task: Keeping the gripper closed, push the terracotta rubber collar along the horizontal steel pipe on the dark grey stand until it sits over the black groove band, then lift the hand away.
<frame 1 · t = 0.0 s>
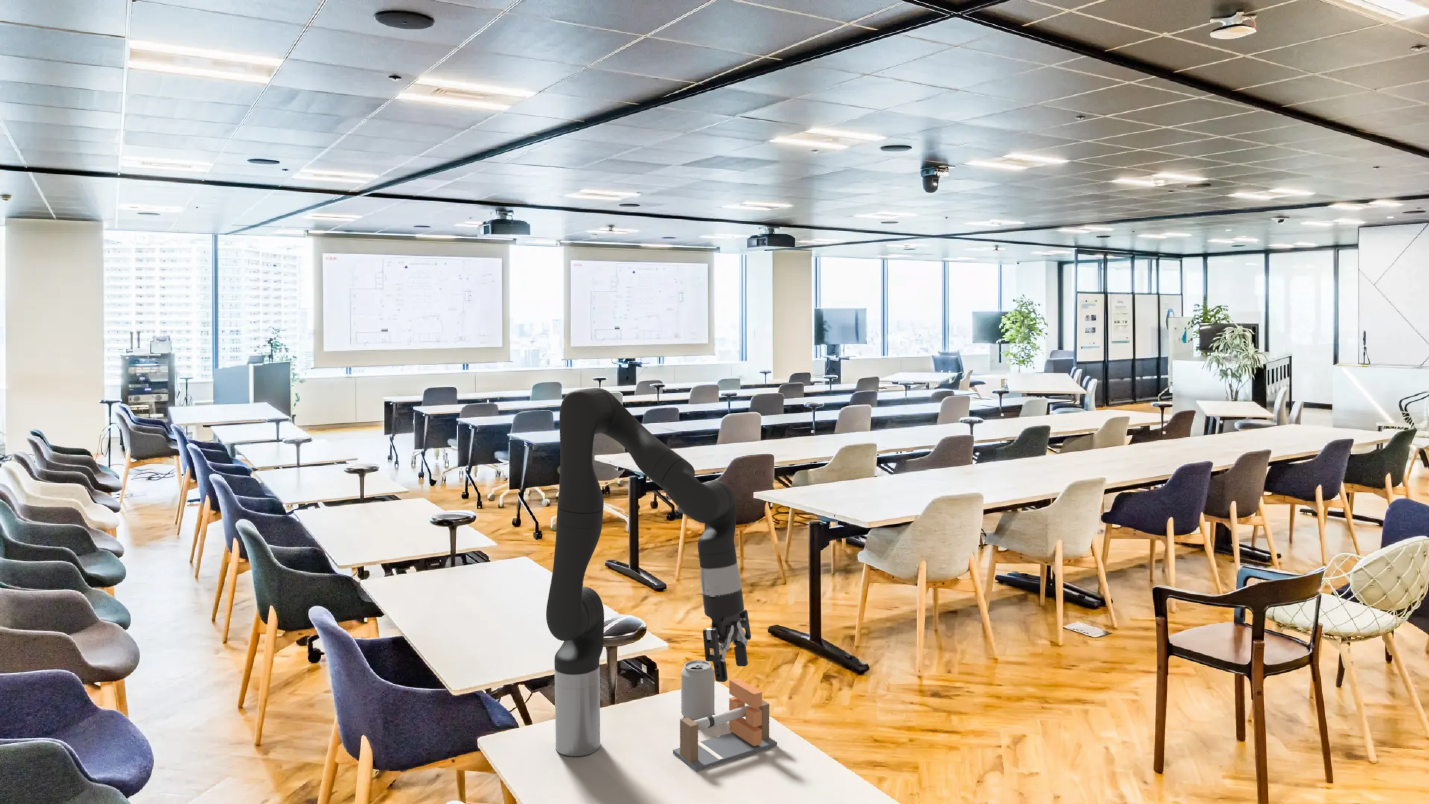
hand: (732, 673, 171), 22 cm above the table, tool pointing down, fingers open, 8 cm apart
can: (697, 716, 205), on the table
pipe stand: (725, 749, 189), on the table
collar: (745, 711, 191), point 7 cm above the table, slide at 0.0 cm
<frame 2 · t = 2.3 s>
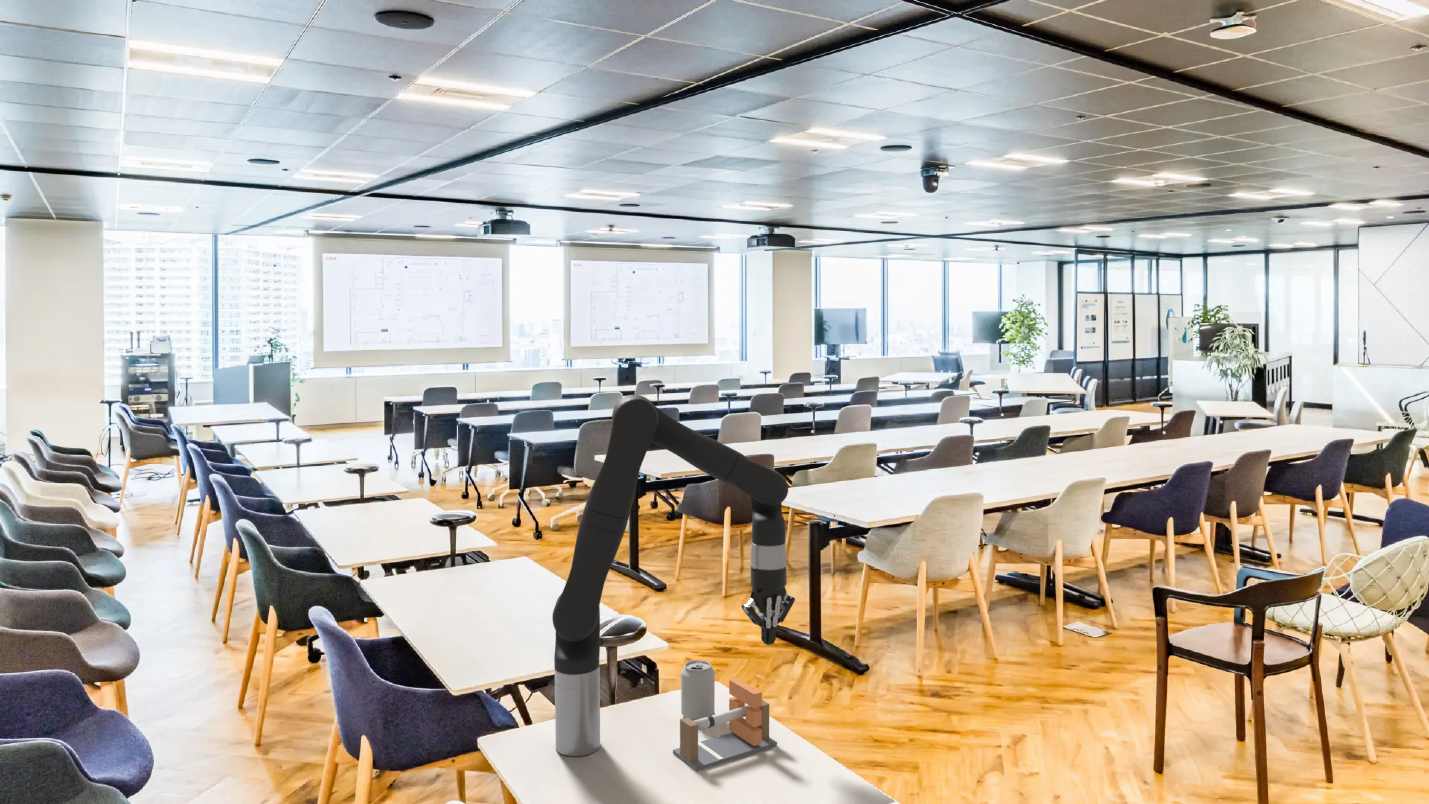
hand: (768, 643, 193), 20 cm above the table, tool pointing down, fingers closed
nothing on the table moved.
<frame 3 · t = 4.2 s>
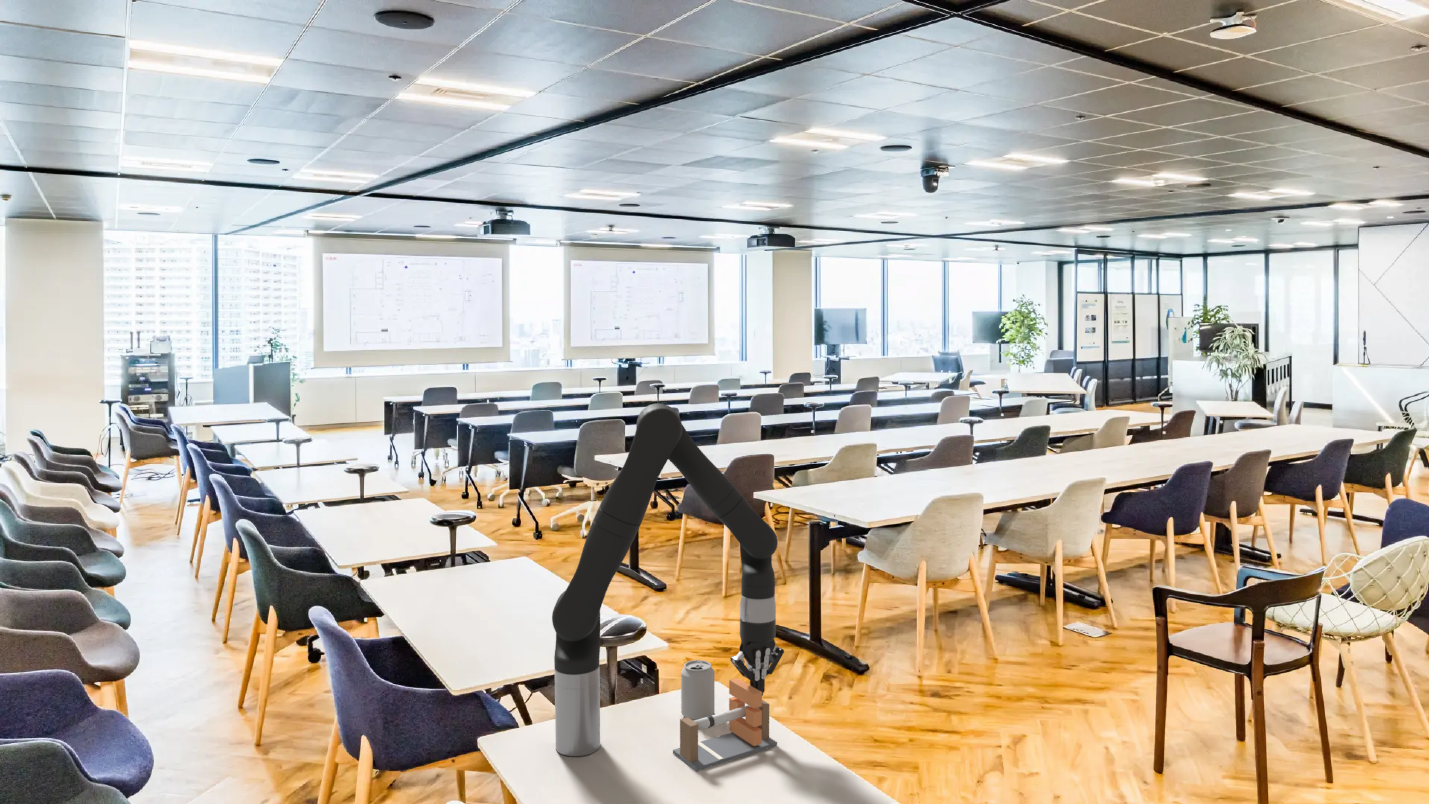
hand: (757, 695, 193), 10 cm above the table, tool pointing down, fingers closed
collar: (745, 711, 191), point 7 cm above the table, slide at 0.0 cm, touching gripper
everything else where it was.
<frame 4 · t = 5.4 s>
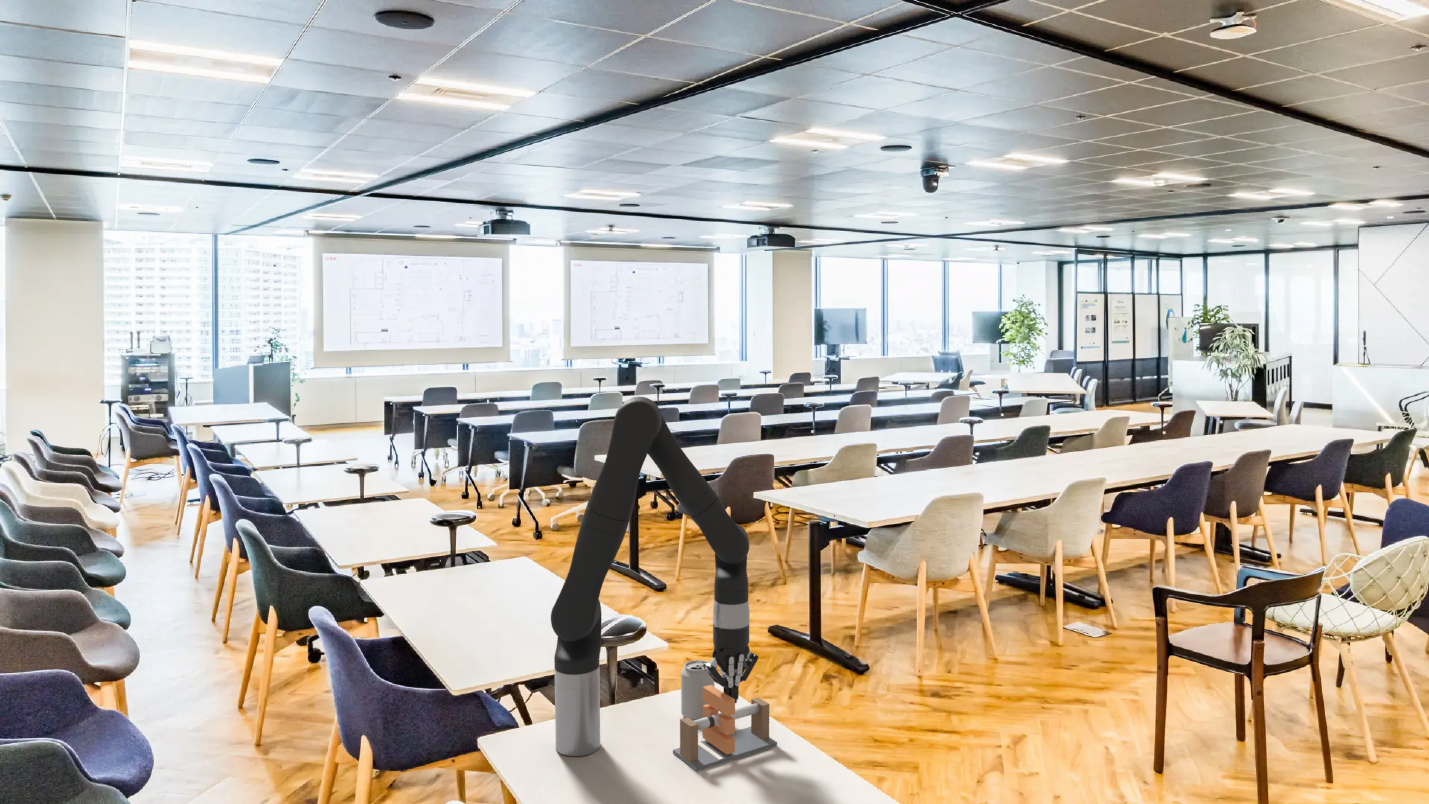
hand: (730, 702, 189), 10 cm above the table, tool pointing down, fingers closed
collar: (718, 719, 187), point 7 cm above the table, slide at 6.8 cm, touching gripper
everything else where it was.
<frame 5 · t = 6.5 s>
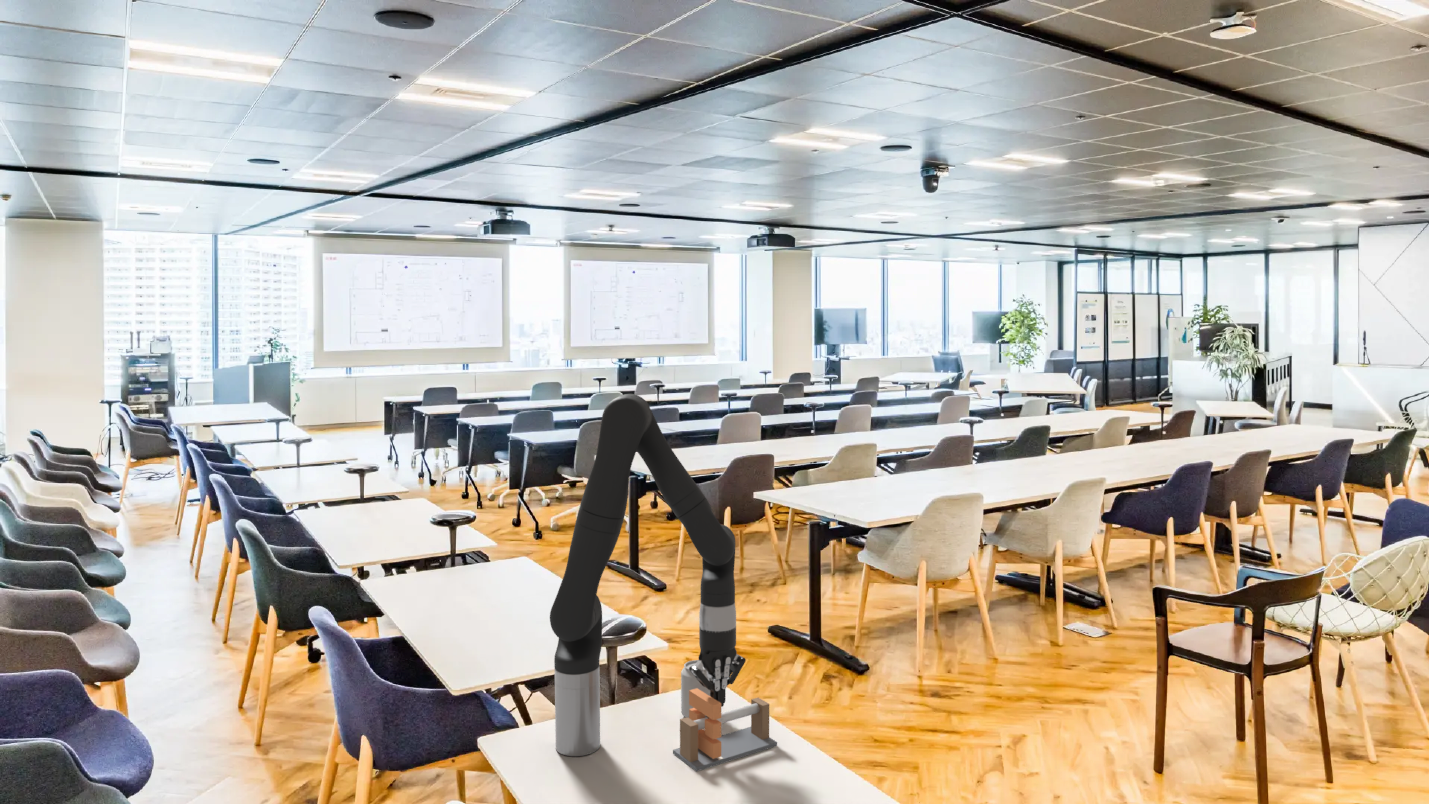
hand: (717, 705, 187), 10 cm above the table, tool pointing down, fingers closed
collar: (704, 722, 185), point 7 cm above the table, slide at 10.1 cm, touching gripper
everything else where it was.
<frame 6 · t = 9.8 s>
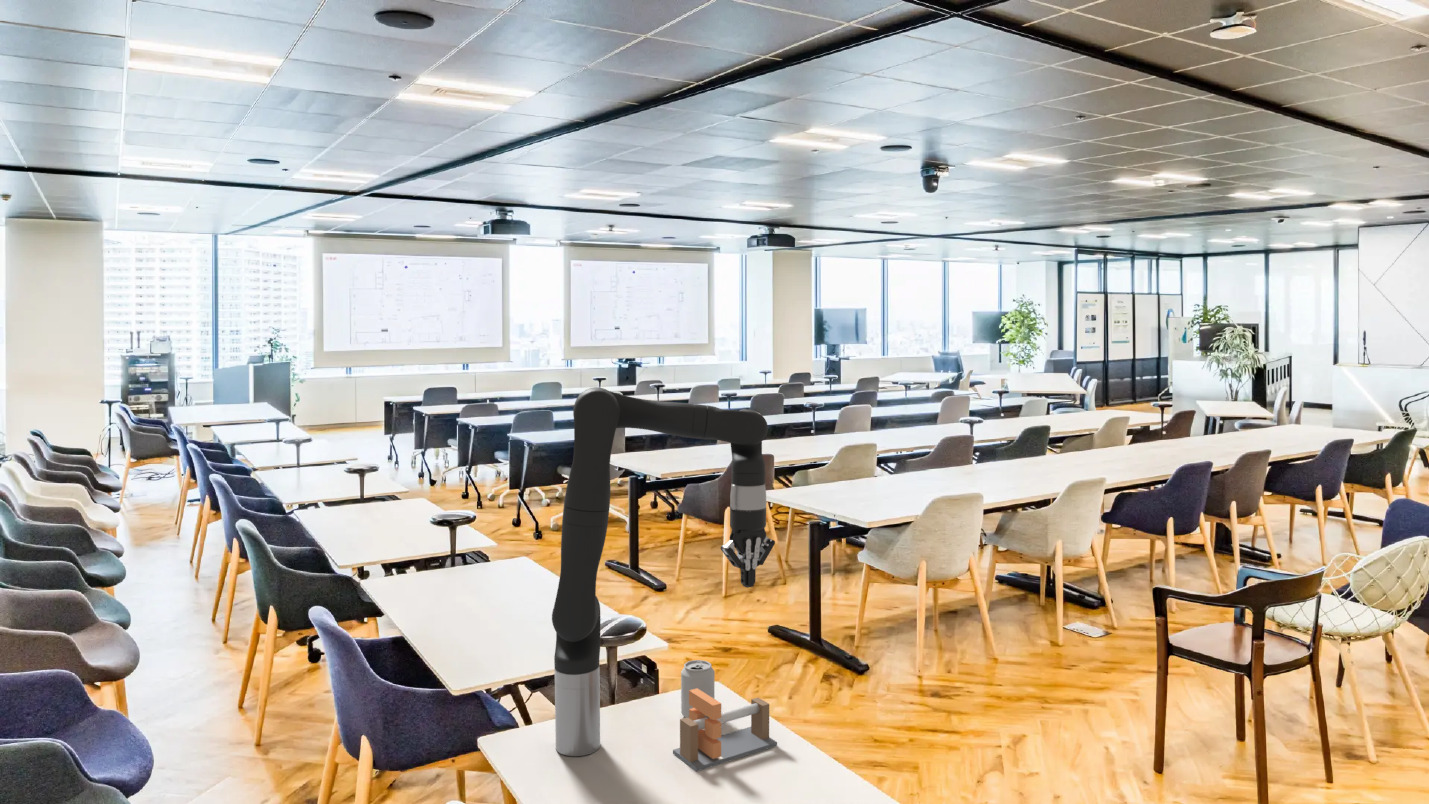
hand: (747, 586, 191), 33 cm above the table, tool pointing down, fingers closed
collar: (704, 722, 185), point 7 cm above the table, slide at 10.1 cm
everything else where it was.
at the end: collar slide at 10.1 cm; collar touching nothing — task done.
